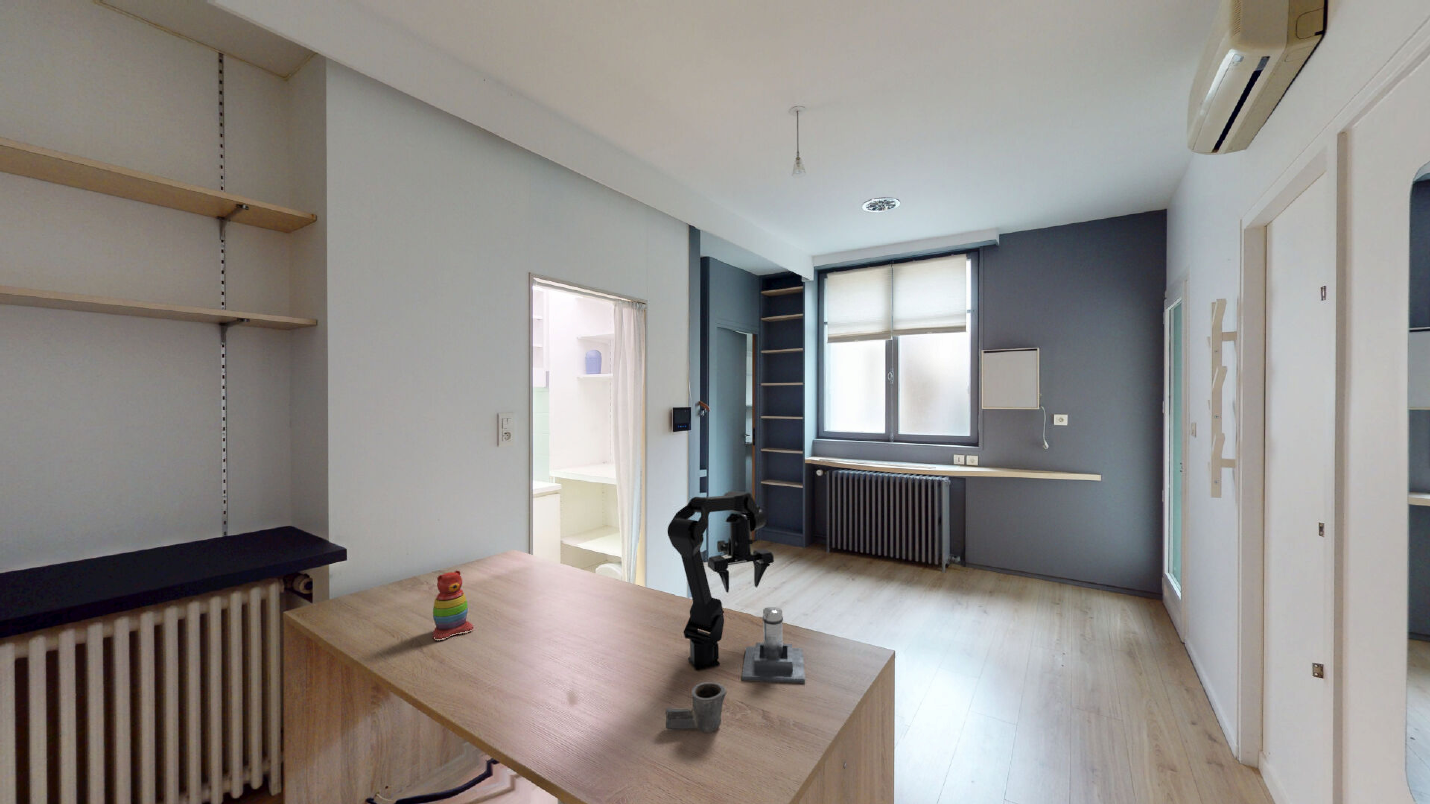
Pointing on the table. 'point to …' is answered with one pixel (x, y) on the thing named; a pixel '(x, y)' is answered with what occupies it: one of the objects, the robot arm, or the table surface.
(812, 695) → the table surface
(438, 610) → the stacking bear
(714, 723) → the pipe
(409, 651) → the table surface
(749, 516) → the robot arm
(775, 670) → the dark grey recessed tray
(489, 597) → the table surface
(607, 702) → the table surface
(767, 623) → the silver banded cylinder
